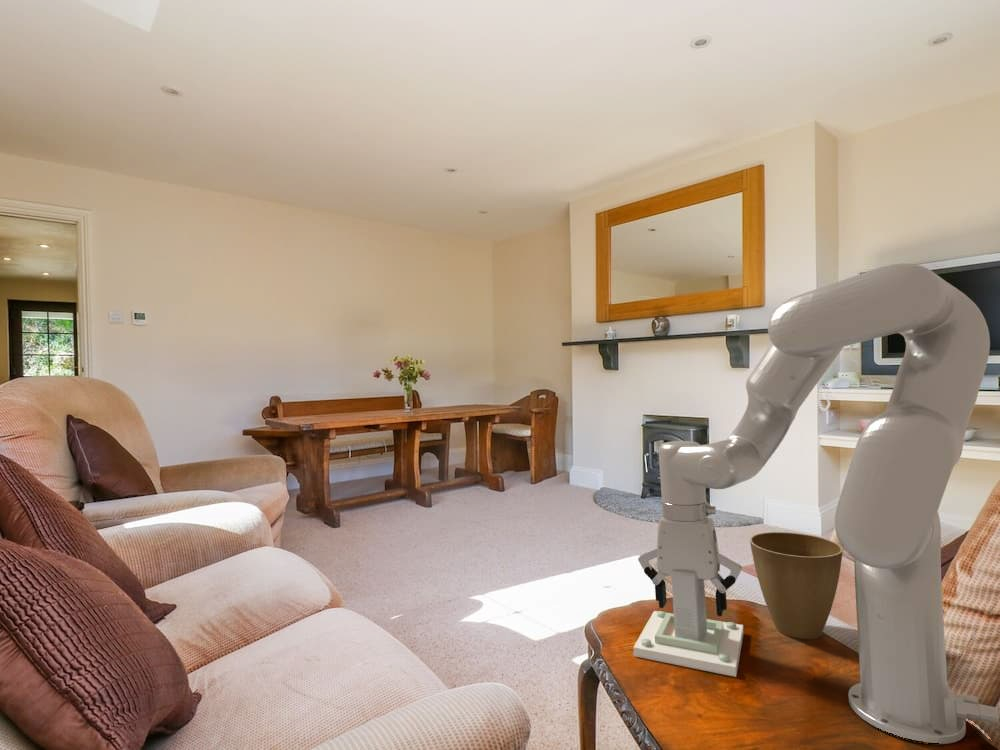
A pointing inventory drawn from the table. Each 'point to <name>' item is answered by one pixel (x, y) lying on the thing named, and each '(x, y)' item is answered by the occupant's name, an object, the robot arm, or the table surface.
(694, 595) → the skincare box
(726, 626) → the baseplate
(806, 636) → the plant pot
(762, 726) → the table surface
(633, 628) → the table surface
